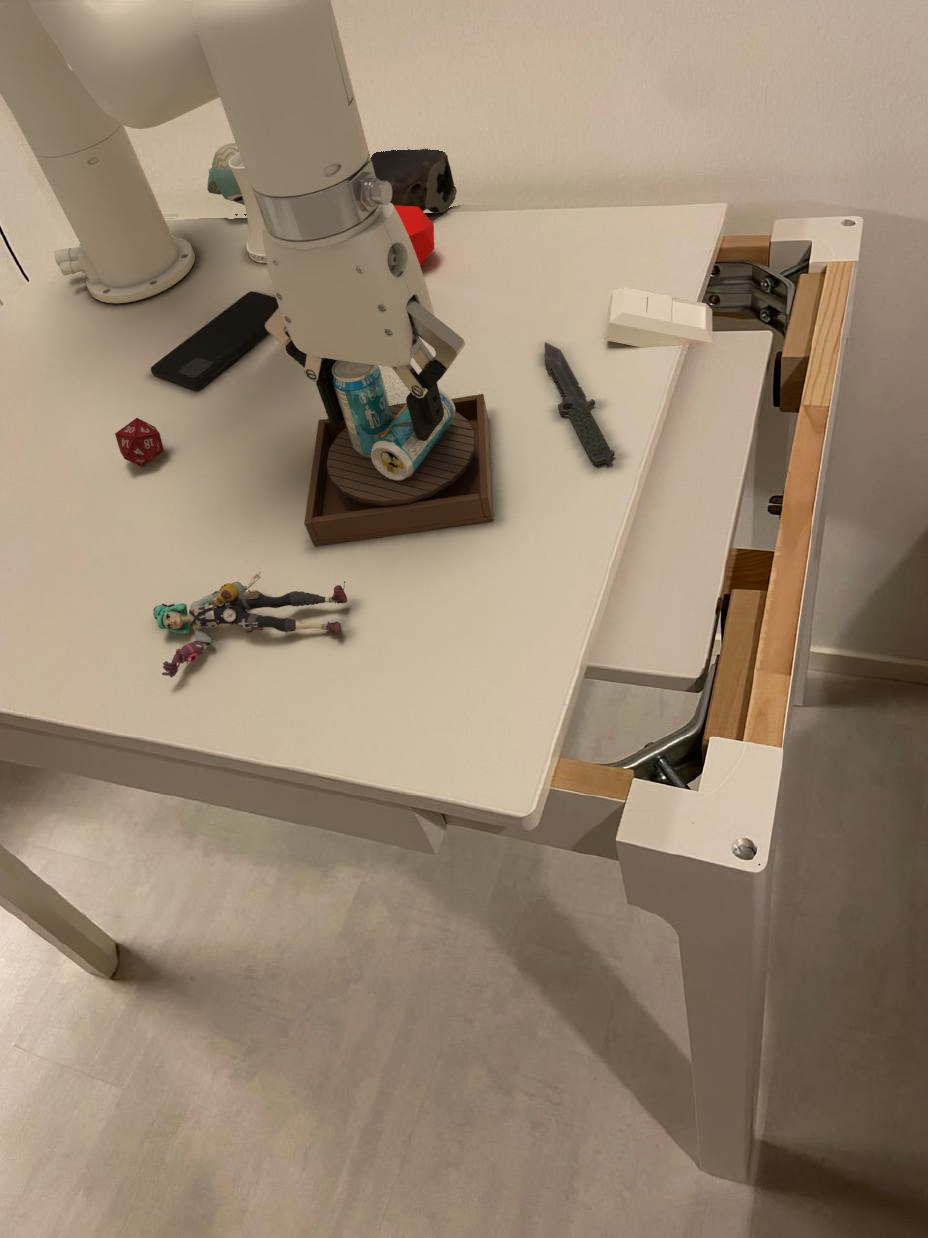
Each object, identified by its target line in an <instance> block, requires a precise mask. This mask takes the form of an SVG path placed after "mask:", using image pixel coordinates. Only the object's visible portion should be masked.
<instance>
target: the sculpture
mask: <svg viewBox="0 0 928 1238" xmlns="http://www.w3.org/2000/svg"><path fill="white" fill-rule="evenodd" d="M407 149H408V150H397V151H396V150H391V151H385V152H384V151H383V152H382V151H381V152H376V153H374V154H373V155H372V157H371V161H372V164H373V168H374V172H375V176H376V178H378V179H379V180H380V181H388V182H389V183H390V184H391V187H392V199H391V201H390V203H392V204H393V205H395V206H418V207H419V208H420V209H421V210H422V211H423V212H424V211H426V210H428V211H429V212H430V213H433V214H443V213H445V212H446V211H447V210H449V208H450V207H451V206H452V205H453V204H454V202H455V200H456V196H457V192H458V191H457V187H455V186H456V185H455V181H454V178H453V174H452V169H451V165H450V162H449V157H448V154H447V153H446V151H445V152H443V151H439V150H430V149H431V148H427V149H426V148H420V150H419V149H415V150H410V149H411V148H407ZM428 149H429V150H428ZM454 185H455V186H454Z"/></svg>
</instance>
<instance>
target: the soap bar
mask: <svg viewBox="0 0 928 1238" xmlns="http://www.w3.org/2000/svg"><path fill="white" fill-rule="evenodd" d="M610 296H611V297H610V299H609V300H610V301H609V303H608V307H607V316H606V325H605V335H604V341H607V342H612V343H618V344H621V345H622V344H623V345H628V346H633V347H638V348H650V347H651V348H652V347H668V346H684V345H700V344H701V345H702V344H712V343H713V309H712V308H711V307H710V306H709V305H708V304H707V303H705V302H700V301H695V300H691V299H686V298H681V297H676V296H671V295H666V294H661V293H656V292H651V291H645V290H640V289H637V288H630V287H625V286H624V287H619V288H616V289H613V290H612V293H611V295H610Z"/></svg>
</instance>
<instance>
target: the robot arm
mask: <svg viewBox="0 0 928 1238" xmlns="http://www.w3.org/2000/svg"><path fill="white" fill-rule="evenodd" d="M354 91H355V90H354V87H353V84H352V79H351V75H350V72H349V68H348V64H347V60H346V56H345V52H344V48H343V44H342V40H341V35H340V33H339V29H338V25H337V21H336V16H335V13H334V9H333V5H332V2H331V0H0V95H1V97H2V98H3V101H4V103H6V105H7V107H8V108H9V110H10V112H11V114H12V116H13V118H14V119H15V121H16V123H17V125H18V127H19V129H20V130H21V132H22V135H23V136H24V138H25V140H26V141H27V145H28V146H29V147H30V150H31V151H32V153H33V155H34V157H35V159H36V161H37V163H38V165H39V167H40V169H41V171H42V172H43V175H44V176H45V179H46V180H47V183H48V184H49V186H50V189H51V190H52V192H53V194H54V196H55V197H56V200H57V201H58V204H59V205H60V207H61V209H62V211H63V213H64V215H65V217H66V219H67V221H68V223H69V225H70V226H71V228H72V230H73V232H74V234H75V236H76V239H77V240H78V242H79V245H78V247H73V248H71V247H68V248H63V249H58V250H55V251H54V261H55V263H56V265H57V266H58V267H59V270H60V273H62V275H63V276H70V275H73V274H74V275H75V274H76V273H83V274H86V280H85V284H86V288H87V289H88V291H89V293H90V296H92V297H93V298H94V299H95V300H98V301H100V302H103V303H108V304H126V303H132V302H137V301H141V300H144V299H147V298H148V299H149V298H151V297H153V296H156V295H158V294H160V293H162V292H164V291H167V290H168V289H169V288H171V287H173V286H174V285H176V284H177V283H179V282H180V281H181V280H183V278H185V277H186V275H187V274H189V272H190V270H192V268H193V266H194V263H195V261H196V255H195V252H194V249H193V246H192V245H191V244H190V242H189V241H187V240H186V239H183V238H181V237H179V236H172V233H171V230H170V228H169V226H168V224H167V222H166V219H165V217H164V214H163V213H162V209H161V208H160V206H159V203H158V201H157V199H156V196H155V194H154V192H153V189H152V187H151V185H150V182H149V180H148V178H147V176H146V174H145V170H144V169H143V167H142V164H141V162H140V160H139V157H138V156H137V152H136V151H135V148H134V146H133V143H132V141H131V139H130V137H129V134H128V132H127V130H126V128H125V127H128V128H131V129H136V130H137V129H138V130H143V129H151V128H155V127H158V126H161V125H163V124H165V123H167V122H170V121H172V120H175V119H177V118H179V117H181V116H183V115H185V114H187V113H190V112H192V111H193V110H196V109H198V108H199V107H202V106H204V105H207V104H209V103H210V102H213V101H215V100H218V99H220V103H221V105H222V108H223V111H224V113H225V116H226V119H227V122H228V125H229V128H230V131H231V133H232V136H233V139H234V143H236V145H237V148H238V150H239V153H240V156H241V159H242V162H243V164H244V167H245V170H246V173H247V176H248V178H249V181H250V184H251V186H252V190H253V192H254V195H255V198H256V201H257V204H258V206H259V209H260V212H261V215H262V218H263V221H264V223H263V225H262V235H263V243H264V249H265V254H266V260H267V263H266V264H267V268H268V274H269V277H270V281H271V284H272V289H273V292H274V297H276V299H277V303H278V306H279V308H278V309H277V310H276V311H275V312H274V314H273V315H272V316H271V317H270V318H269V319H268V321H267V322H266V323H265V328H266V330H267V331H268V332H269V333H268V334H270V335H271V336H272V337H273V338H274V339H275V340H276V341H277V342H278V343H279V344H280V345H281V346H284V348H285V352H286V354H288V355H289V356H290V357H291V358H292V359H293V360H294V361H295V362H296V363H298V364H299V365H300V366H301V367H302V368H304V370H303V373H304V375H305V377H306V378H307V379H308V380H309V381H310V382H315V385H316V388H317V391H318V393H319V396H320V399H321V401H322V405H323V407H324V410H325V412H326V415H327V419H328V418H329V421H330V424H332V425H339V424H341V423H342V422H343V420H344V417H343V414H342V411H341V408H340V404H339V401H338V398H337V395H336V392H335V389H334V385H333V374H332V367H333V365H334V363H335V362H336V361H337V360H341V361H348V362H355V363H362V364H369V365H377V366H379V367H387V368H391V369H392V370H393V371H394V373H395V374H396V375H397V377H398V378H399V379H400V380H401V382H402V383H403V385H404V386H405V387H406V388H407V389H408V391H409V393H408V395H406V398H405V401H406V402H405V403H407V406H408V410H409V413H410V417H411V420H412V424H413V428H414V431H415V435H416V437H417V438H418V440H422V441H427V439H428V438H429V437H430V435H431V434H432V432H433V431H434V430H435V428H436V427H437V426H438V425H439V424H440V422H441V421H442V419H443V416H444V409H443V405H442V401H441V397H440V393H439V389H440V388H439V386H438V382H439V381H440V380H441V379H442V378H443V376H444V375H445V374H446V373H447V372H448V370H449V368H450V367H451V365H452V364H453V363H454V362H455V360H456V359H457V357H458V356H459V355H460V353H461V352H462V350H464V347H465V346H466V342H465V340H464V339H463V337H461V336H460V335H459V334H458V333H457V332H455V331H454V330H453V329H452V328H450V327H449V326H447V325H446V324H445V323H444V322H443V321H441V320H440V319H439V318H438V317H436V315H435V311H434V307H433V303H432V299H431V295H430V293H429V289H428V287H427V283H426V279H425V276H424V273H423V270H422V267H421V264H419V261H418V259H417V256H416V253H415V250H414V248H413V245H412V243H411V240H410V238H409V235H408V233H407V231H406V229H405V227H404V225H403V223H402V221H401V218H400V217H399V215H398V213H397V211H396V209H395V207H394V206H393V204H392V203H390V201H391V199H392V187H391V184H390V183H389V182H388V181H380V180H379V179H378V178H376V176H375V172H374V168H373V164H372V161H371V158H370V154H369V152H370V151H369V147H368V143H367V138H366V135H365V130H364V127H363V123H362V119H361V116H360V111H359V107H358V103H357V99H356V96H355V92H354ZM422 340H423V341H424V342H425V343H427V344H428V345H429V346H430V347H431V348H432V349H433V350H434V351H435V354H434V356H433V354H432V353H431V351H430V350H429V349H428V348H427V346H426V345H425V343H424V342H423V341H422ZM412 359H413V360H414V361H415V363H416V364H417V365H418V367H419V368H420V369H421V371H420V372H419V373H418V372H417V370H416V369H415V368H414V366H413V365H412V364H411V362H412Z"/></svg>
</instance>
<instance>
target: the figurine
mask: <svg viewBox="0 0 928 1238" xmlns="http://www.w3.org/2000/svg"><path fill="white" fill-rule="evenodd" d="M261 573H262V571H259V572H257V573H255V574H253V575H252V577H251V578H250V580H249V583H248V585H245V586H244V585H243V584H242V583H241V582H240V581H235V582H227V583H225V584H223V585H221V586H220V588H219V590H215V591H214V592H212V593H210V594H207V595H206V596H203V597H202V598H200V599H198V600H195V601H193V602H192V603H191V604H190V606H189V610H188V606H187V604H186V603H177V604H175V603H171V604H166V603H161V604H159V605H156V606H155V607H154V608H153V610H152V614H153V615H152V616H153V618H154V619H155V620H156V624H157V626H158V628H159V629H161V630H166V629H167V630H168V631H170V632H173V633H176V634H181V635H182V634H188V633H190V631H191V628H193V631H194V637H195V640H194V641H191V642H189V643H186V644H184V645H182V647H181V648H180V647H179V648H176V649H175V654H174V655H173V657H172V659H171V662H169V661H167V660H165V661H164V662H163V663H162V665H163V666H162V668H163V669H164V671H163V672H162V673H161V675H162V676H168V677H170V678H171V679H172V678H173V677H175V676H176V674H177V673H178V672H179V669H180V666H181V664H184V663H185V662H186V664H187V665H189V664H192V663H193V662H195V661H196V660H197V659H198V657H200V656H202V655H203V654H204V651H205V650H206V649H207V648H208V646H212V645H213V638H211V637H210V636H208V634H207V633H206V629H214V628H215V626H216V625H217V626H219V625H222V624H223V625H231V626H232V625H237V626H240V627H241V628H243V629H246V630H245V633H246V634H249V633H253V632H254V631H257V630H258V631H265V630H264V628H273V629H275V630H277V631H278V632H284V633H286V634H287V633H291V632H292V633H293V632H295V631H300V630H313V629H315V630H316V629H317V630H318V629H319V630H324V631H328V632H329V634H331V635H332V634H334V633H335V634H342V626H341V622H339V621H335V622H334V621H333V622H330V621H327V623H314V622H313V623H311V622H303V621H298V620H296V619H292V618H289V617H285V618H282V617H275V616H273V615H262V614H258V613H253V612H248V611H251V610H257V609H263V608H271V609H278V608H279V609H280V608H284V607H289V606H291V607H304V606H314V605H319V604H325V603H334V604H346V603H348V597H347V594H346V592H345V584H346V581H343V586H342V585H341V584H338V585H335V586H334V587H333V594H332V596H329V597H326V596H322V595H319V594H315V593H310V592H305V591H301V590H300V591H298V590H294V591H290V592H287V593H285V594H283V595H281V596H268V595H265V594H264V593H262V592H261V591H259V590H257V589H253V590H250V588H251V587H252V586H253V585H254V584H255V583H256V582H258V580H259V579H261V576H260V575H261ZM248 589H249V590H248ZM247 610H248V611H247Z"/></svg>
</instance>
